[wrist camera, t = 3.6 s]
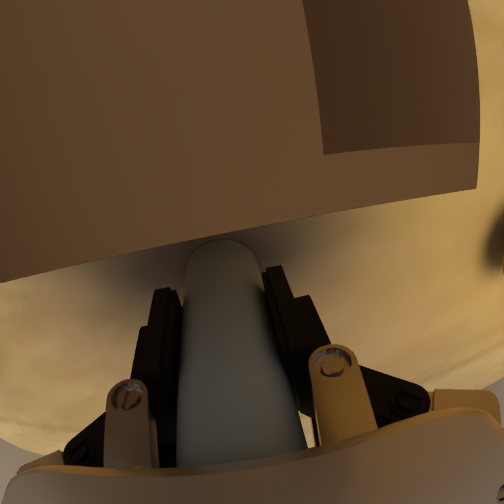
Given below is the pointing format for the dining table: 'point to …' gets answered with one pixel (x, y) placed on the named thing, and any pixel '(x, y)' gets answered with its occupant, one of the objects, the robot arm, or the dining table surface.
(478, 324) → the dining table surface
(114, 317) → the dining table surface
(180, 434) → the peg
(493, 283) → the dining table surface
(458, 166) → the stand
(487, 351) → the dining table surface
